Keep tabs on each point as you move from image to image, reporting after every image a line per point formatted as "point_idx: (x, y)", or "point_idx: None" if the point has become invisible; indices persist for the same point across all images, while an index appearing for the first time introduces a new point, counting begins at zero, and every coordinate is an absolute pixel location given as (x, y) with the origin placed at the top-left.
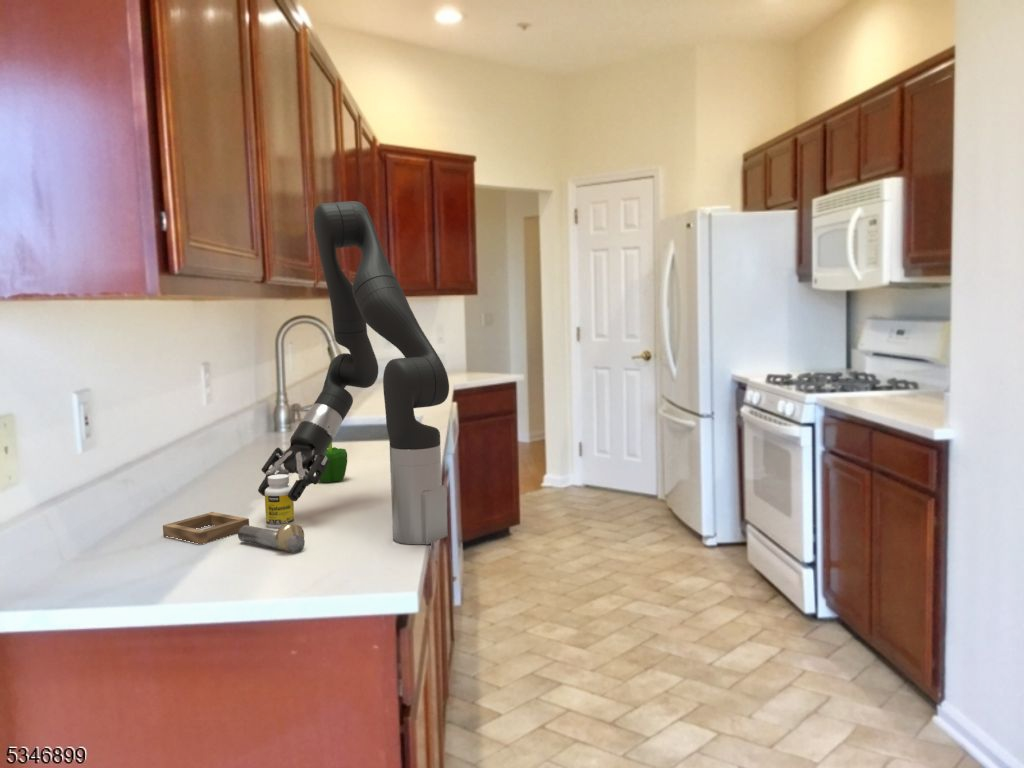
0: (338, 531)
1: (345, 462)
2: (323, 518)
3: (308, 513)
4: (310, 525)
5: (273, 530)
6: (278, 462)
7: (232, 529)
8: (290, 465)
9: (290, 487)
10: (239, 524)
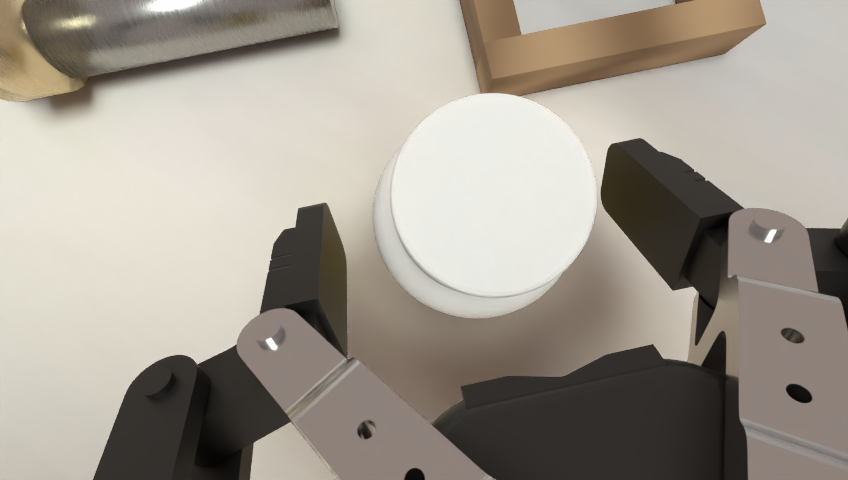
0: (142, 353)
1: None
2: None
3: None
4: None
5: (122, 6)
6: (787, 324)
7: (467, 4)
8: (576, 395)
9: (412, 278)
10: (476, 32)
